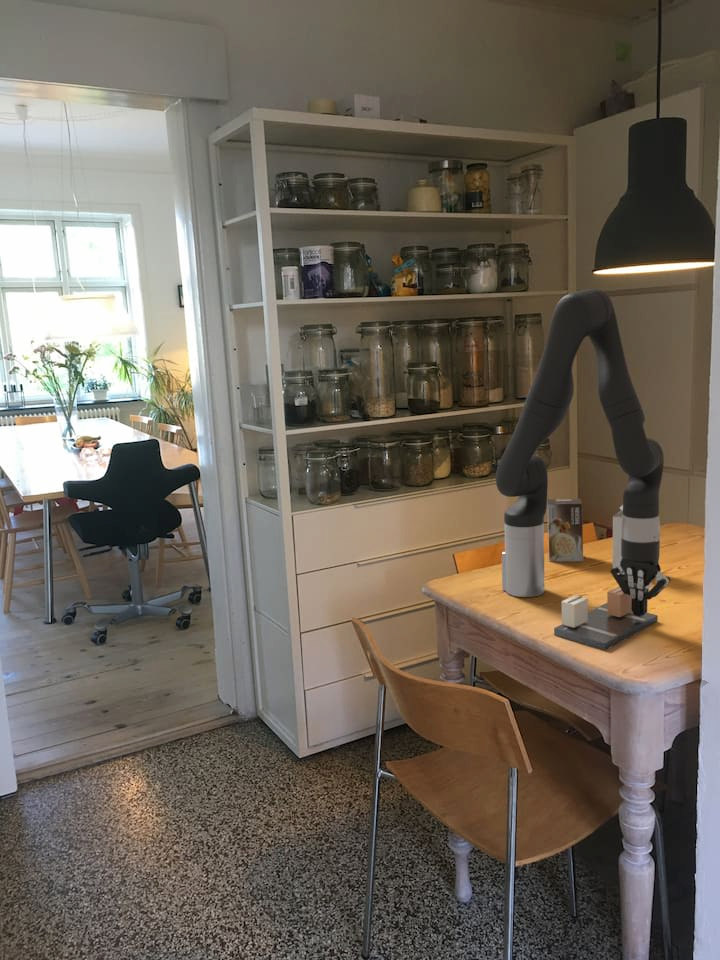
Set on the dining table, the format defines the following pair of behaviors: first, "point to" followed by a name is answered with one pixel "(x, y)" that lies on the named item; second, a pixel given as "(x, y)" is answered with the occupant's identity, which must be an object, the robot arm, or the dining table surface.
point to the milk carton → (617, 538)
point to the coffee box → (565, 530)
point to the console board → (606, 628)
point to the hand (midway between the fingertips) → (639, 615)
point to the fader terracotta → (618, 602)
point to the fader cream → (574, 611)
